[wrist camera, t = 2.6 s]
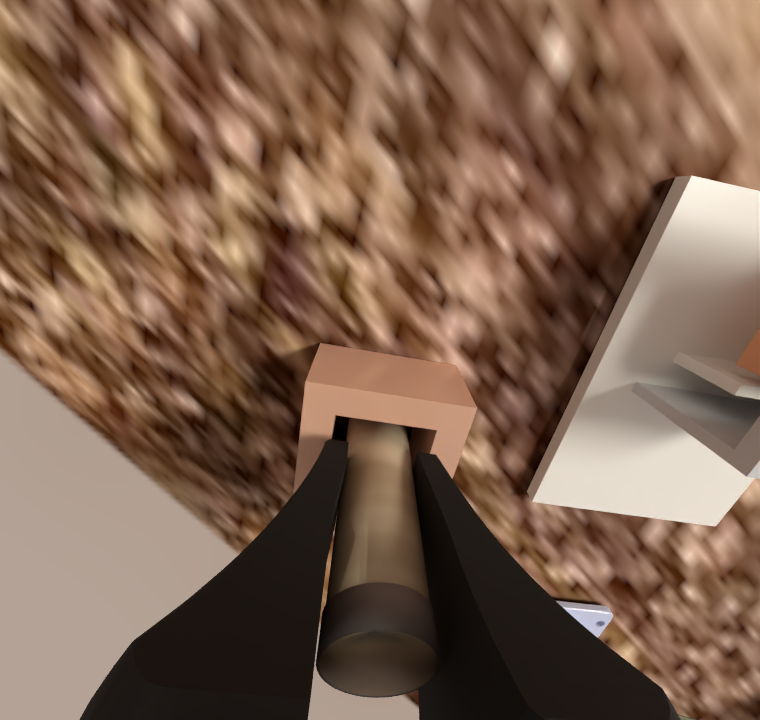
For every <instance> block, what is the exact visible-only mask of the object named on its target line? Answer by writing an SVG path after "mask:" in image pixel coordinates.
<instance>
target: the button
mask: <svg viewBox="0 0 760 720" xmlns="http://www.w3.org/2000/svg"><path fill="white" fill-rule="evenodd" d="M736 365H738V366H740V367H742V368H744V369H746V370H749V371H751V372H753V373H755V374H757V375H760V328H759V330H758V331H757V333H756V334H755V336H754V337H753V339H752V340H751V342H750V343H749V345H748V346H747V348H746V349H745V351H744V352H743V354H742V355H741V357H740V358H739V360H738V361H737V363H736Z"/></svg>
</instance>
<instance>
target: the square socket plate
mask: <svg viewBox="0 0 760 720" xmlns="http://www.w3.org/2000/svg"><path fill="white" fill-rule="evenodd" d="M759 328H760V191H757V190H752V189H748V188H744V187H739V186H735V185H730V184H726V183H722V182H717V181H713V180H708V179H704V178H699V177H695V176H682V177H676V178H675V180H674V182H673V184H672V186H671V188H670V190H669V192H668V194H667V197H666V199H665V201H664V203H663V205H662V207H661V209H660V211H659V213H658V216H657V218H656V220H655V222H654V224H653V226H652V228H651V230H650V232H649V234H648V237H647V239H646V241H645V243H644V245H643V247H642V249H641V251H640V253H639V256H638V258H637V260H636V262H635V264H634V266H633V268H632V270H631V272H630V275H629V277H628V279H627V281H626V283H625V285H624V287H623V289H622V291H621V294H620V296H619V298H618V300H617V302H616V304H615V306H614V308H613V310H612V313H611V315H610V317H609V319H608V321H607V323H606V325H605V327H604V329H603V332H602V334H601V336H600V338H599V340H598V342H597V344H596V346H595V348H594V351H593V353H592V355H591V357H590V359H589V361H588V363H587V365H586V367H585V370H584V372H583V374H582V376H581V378H580V380H579V382H578V384H577V386H576V389H575V391H574V393H573V395H572V397H571V399H570V401H569V403H568V405H567V408H566V410H565V412H564V414H563V416H562V418H561V420H560V422H559V424H558V426H557V429H556V431H555V433H554V435H553V437H552V439H551V441H550V443H549V445H548V448H547V450H546V452H545V454H544V456H543V458H542V460H541V462H540V464H539V467H538V469H537V471H536V473H535V475H534V477H533V479H532V481H531V483H530V486H529V488H528V490H527V493H528V495H529V497H530V499H531V501H532V502H537V503H545V504H552V505H560V506H567V507H574V508H582V509H589V510H597V511H604V512H612V513H619V514H627V515H634V516H642V517H649V518H656V519H664V520H671V521H679V522H686V523H694V524H701V525H709V526H716V525H717V524H718V523H719V522H720V520H721V519H722V518H723V517H724V515H725V514H726V513H727V512H728V510H729V509H730V508H731V507H732V506H733V504H734V503H735V502H736V501H737V499H738V498H739V497H740V496H741V495H742V493H743V492H744V491H745V490H746V488H747V487H748V486H749V485H750V483H751V482H752V481H753V480H754V479H755V478H757V479H760V375H757V374H755V373H753V372H751V371H749V370H746V369H744V368H742V367H740V366H738V365H736V363H737V361H738V360H739V358H740V357H741V355H742V354H743V352H744V351H745V349H746V348H747V346H748V345H749V343H750V342H751V340H752V339H753V337H754V336H755V334H756V333H757V331H758V330H759Z"/></svg>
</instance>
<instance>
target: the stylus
mask: <svg viewBox="0 0 760 720" xmlns="http://www.w3.org/2000/svg"><path fill="white" fill-rule="evenodd" d="M346 442H349V444H348V457H347V463H346V468H345V474H344V479H343V484H342V489H341V493H340V498H339V504H338V512H337V520H336V528H335V536H334V544H333V552H332V560H331V568H330V576H329V585H328V593H327V601H326V605H325V607H324V610H323V613H322V621H321V628H320V636H319V644H318V652H317V659H316V667H317V671H318V673H319V675H320V676H321V678H322V679H323V680H324V681H325V682H326V683H328V684H329V685H330V686H332V687H334V688H335V689H338V690H340V691H343V692H345V693H348V694H352V695H356V696H363V697H392V696H398V695H403V694H407V693H410V692H413V691H415V690H418V689H420V688H422V687H423V686H425V685H427V684H428V683H429V682H431V681H432V680H433V679H434V678H435V676H436V675H437V674H438V672H439V670H440V667H441V658H440V651H439V644H438V637H437V630H436V623H435V616H434V610H433V607H432V605H431V603H430V597H429V590H428V582H427V575H426V568H425V560H424V553H423V545H422V538H421V531H420V523H419V516H418V508H417V501H416V493H415V486H414V479H413V471H412V464H411V456H410V449H409V442H408V434H407V427H406V426H405V425H398V424H392V423H385V422H378V421H371V420H365V419H358V418H351V417H349V423H348V431H347V439H346Z"/></svg>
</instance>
